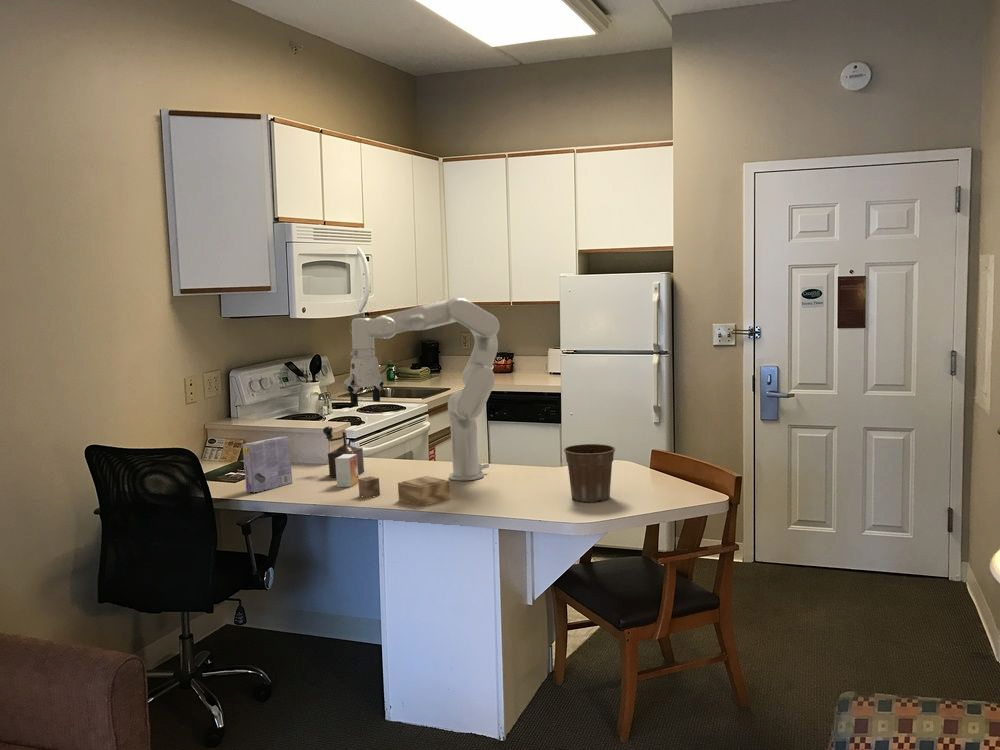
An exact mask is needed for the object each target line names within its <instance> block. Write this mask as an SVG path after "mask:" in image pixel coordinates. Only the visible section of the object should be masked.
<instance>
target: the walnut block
mask: <svg viewBox="0 0 1000 750" xmlns="http://www.w3.org/2000/svg"><path fill="white" fill-rule="evenodd" d="M357 484H358V494H359V497H360V496H363V497H362V498H364V497H367V498H366V499H370V498H369V497H372V498H374V497H373V496H376V497H378V496H377V495H380V496H381V490H380V478H379V477H377V476H376V477H375V476H371V475H370V476H366V477H361V478H359V479H358V483H357Z"/></svg>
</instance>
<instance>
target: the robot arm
mask: <svg viewBox="0 0 1000 750" xmlns="http://www.w3.org/2000/svg"><path fill="white" fill-rule="evenodd" d="M453 323H459V324H460V325H462V326H464V327H465V328H467V329H468V330H469V331H470V332H471V334H472V335H473V340H474V345H473V349H472V351H471V353H470V354H471V355H470V357H469V358H468V361H467V363H466V365H465V366H464V370H463V372H462V374H461V381H462V383H463V384H464V387H463V390H462V389H461V390H456V391H454V392H453V393H452V394H450V396H449V398H448V401H447V410H448V416H449V424H450V427H449V428H450V441H451V443H450V445H451V459H452V460H451V461H452V472H451V473H450V474H448V478H449V480H452V481H459V482H461V481H462V482H463V481H475V480H478V479H482V478H484V476H485V475H484V474H485V473H484V471H483V470H484V469H489V467H490V464H489V463H488V462H484V463H481V462H480V457H479V443H478V442H479V440H478V438H479V437H478V424H477V418H478V417H480V415H481V414H482V412H483V410H484V408H485V406H486V404H487V402H488V400H489V397H490V395H491V393H492V391H493V388H494V385H495V379H496V377H495V373H494V371H493V369H492V368H493V367H492V366H493V364H494V361H495V360H496V356H497V353H498V350H499V349H498V348H499V341H498V336H497V334H498V333H499V332H500V322H499V319H498V318H497V317H496V316H495V315H494V314H492V313H491V312H488V311H487V310H485V309H484V308H482V307H480V306H478V305H477V304H476V303H475V304H474V303H473V302H471V301H470V300H468V299H467V298H463V297H452V298H448V299H444V300H438V301H436V302H435V301H434V302H432V303H431V302H430V303H427V304H422V305H418V306H414V307H411V308H408V309H403V310H400V311H395V312H391V313H387V314H382V315H380V316H377V317H376V318H370V317H357V318H353V319H352V321H351V343H352V346H351V347H352V351H350V356H352V358H351V360H350V369H349V377H347V378H346V379H345V380H343V384H344V387H345V390H346V391H348V393H349V394H350V395H349V397H350V399H349V400H350V404H351V405H352V406H353V405H354V406H358V405H359V396H358V395H359V394H358V393H357V392H358V390H359V388H368V387H372V388H373V390H372V401H373V402H377V403H378V402H379V403H380V402H381V392H380V391H381V390H382V387H383V386H384V383H385V379H386V376H384V375H382V374H381V373H380V366H379V361H378V357H376V356H375V354H376V353H375V352H376V351H375V339H386V340H387V339H391V338H393V337H394V336H395V335H397V334H400V333H404V332H410V331H425V330H430V329H433V328H437V327H441V326H446V325H449V324H453Z"/></svg>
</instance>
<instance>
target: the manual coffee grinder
mask: <svg viewBox="0 0 1000 750" xmlns="http://www.w3.org/2000/svg"><path fill="white" fill-rule="evenodd" d="M333 430H334V429H333V427H331V426H325V427H324V428H323V429H322V433H323V434H324V435H326V436H325V437H326V440H327V441H328V442H334V441H339V440H342V439H343V445H341V446H339V447H338V448H336V449H334V450H332V451H330V452H329V453H327V456H328V457H327V459H328V471H329V478H330V477H336V464H335V458H338V457H339V456H341V455H343V454H357V461H358V475H359V476H361V475H362V474H364V473H365V467H364V465H365V464H364V461H365V460H364V451H363V450H364V449H363V447H356V446H353V445H350V443H347V439H346V438H347V433H346V432H345V431H343V432H342V435H341V436H339V437H335V438H333V437H334V436H333ZM363 472H364V473H363Z"/></svg>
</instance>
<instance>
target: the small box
mask: <svg viewBox="0 0 1000 750" xmlns="http://www.w3.org/2000/svg"><path fill="white" fill-rule="evenodd" d="M335 464H336V478H335V479H336V488H346V487H348V488H352V487H353V486H354V485H357V484H359V483H358V479H360V478H359V476H358V461H357V454H343V455H341V456H339V457H338V458H335Z"/></svg>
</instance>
